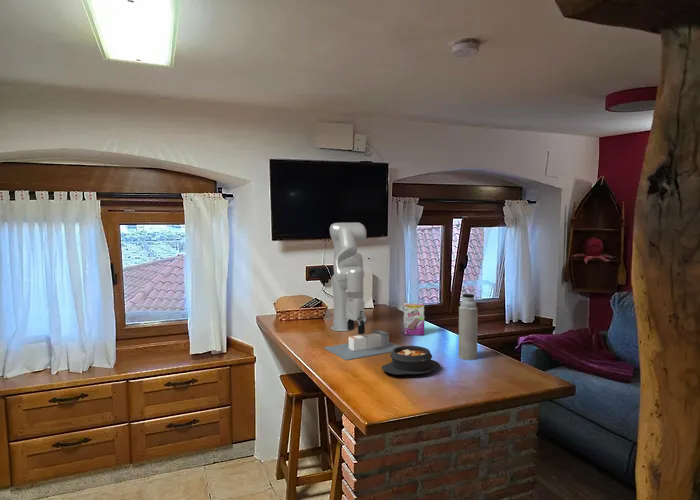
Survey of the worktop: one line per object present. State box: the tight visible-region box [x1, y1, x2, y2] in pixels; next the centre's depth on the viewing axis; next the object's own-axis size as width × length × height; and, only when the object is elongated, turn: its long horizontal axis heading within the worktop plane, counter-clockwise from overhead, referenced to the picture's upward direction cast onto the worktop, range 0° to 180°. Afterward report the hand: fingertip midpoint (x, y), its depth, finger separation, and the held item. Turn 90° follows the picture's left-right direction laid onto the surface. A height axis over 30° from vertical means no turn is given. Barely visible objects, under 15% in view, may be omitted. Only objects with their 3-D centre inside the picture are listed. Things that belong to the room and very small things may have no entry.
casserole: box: [381, 345, 441, 376], centre depth 186 cm, size 25×19×8 cm
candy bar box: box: [402, 302, 425, 336], centre depth 242 cm, size 11×5×16 cm, turn 84°
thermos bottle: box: [458, 293, 479, 361], centre depth 202 cm, size 8×8×28 cm
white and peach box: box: [348, 334, 367, 351], centre depth 215 cm, size 5×7×6 cm
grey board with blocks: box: [323, 328, 401, 361], centre depth 217 cm, size 22×32×7 cm
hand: (355, 331), depth 214 cm, fingers open, 9 cm apart
